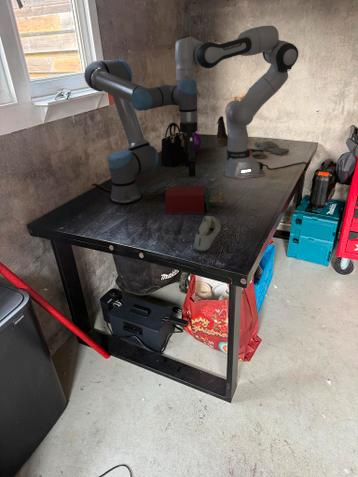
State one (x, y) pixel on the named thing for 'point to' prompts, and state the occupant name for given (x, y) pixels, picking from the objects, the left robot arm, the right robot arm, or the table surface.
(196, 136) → the decorative orb
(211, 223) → the ballet flat
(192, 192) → the dark red block
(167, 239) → the table surface
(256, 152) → the pair of gloves
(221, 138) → the boot
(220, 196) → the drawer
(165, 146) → the handbag
